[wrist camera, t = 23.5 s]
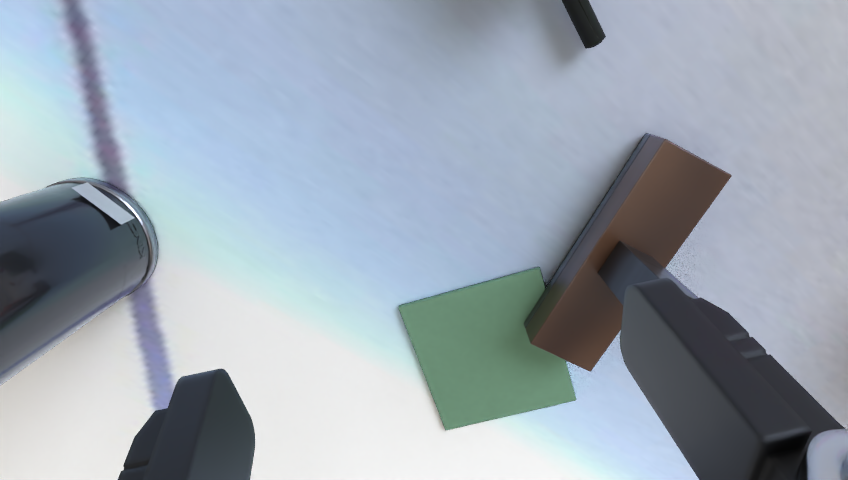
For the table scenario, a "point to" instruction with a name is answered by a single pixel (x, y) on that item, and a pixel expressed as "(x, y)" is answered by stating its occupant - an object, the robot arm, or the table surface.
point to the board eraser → (623, 249)
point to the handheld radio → (585, 22)
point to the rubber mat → (485, 351)
